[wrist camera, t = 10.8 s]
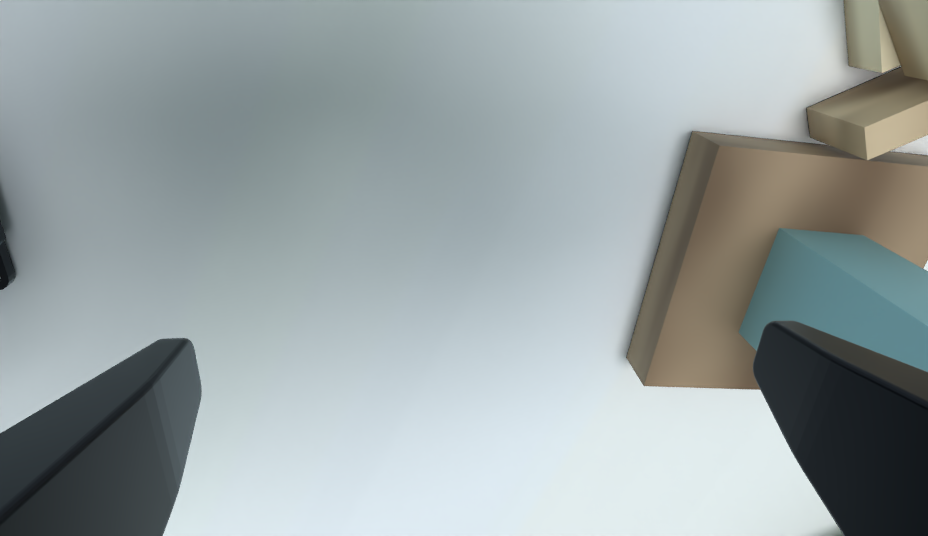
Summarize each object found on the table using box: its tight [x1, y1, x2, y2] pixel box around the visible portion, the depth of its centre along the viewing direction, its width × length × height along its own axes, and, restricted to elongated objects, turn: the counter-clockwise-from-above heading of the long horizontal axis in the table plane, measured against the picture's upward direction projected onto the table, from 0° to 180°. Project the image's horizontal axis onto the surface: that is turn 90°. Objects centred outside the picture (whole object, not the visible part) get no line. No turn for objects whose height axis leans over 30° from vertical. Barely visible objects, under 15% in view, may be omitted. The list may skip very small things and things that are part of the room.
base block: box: [626, 131, 928, 390], centre depth 24 cm, size 10×10×2 cm
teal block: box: [739, 228, 928, 372], centre depth 18 cm, size 4×4×10 cm
